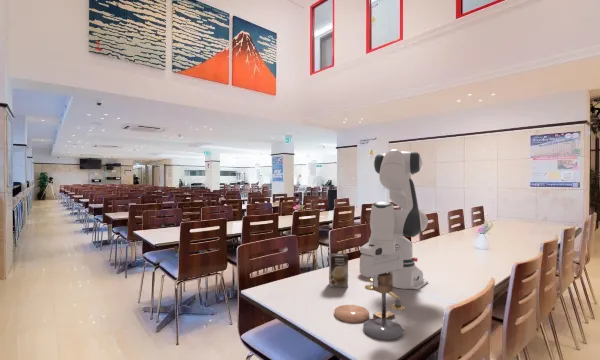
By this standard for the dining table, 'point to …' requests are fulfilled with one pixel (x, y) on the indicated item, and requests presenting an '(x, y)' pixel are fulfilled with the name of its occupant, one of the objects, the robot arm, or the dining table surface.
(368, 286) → the balance
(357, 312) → the terracotta dish
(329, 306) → the dining table surface
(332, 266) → the coffee box
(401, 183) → the robot arm
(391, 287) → the walnut block
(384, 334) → the charcoal dish
